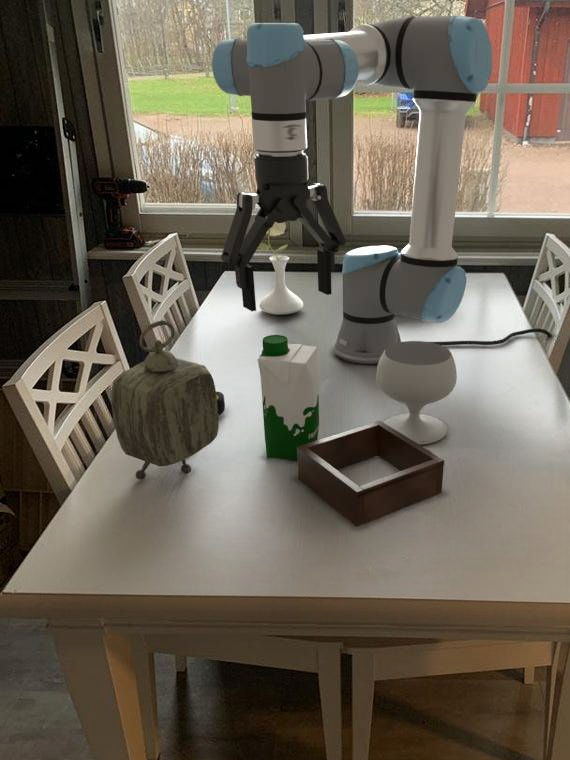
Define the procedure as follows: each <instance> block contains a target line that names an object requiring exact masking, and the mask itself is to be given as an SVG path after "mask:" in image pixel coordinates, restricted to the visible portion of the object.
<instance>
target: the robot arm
mask: <svg viewBox="0 0 570 760" xmlns="http://www.w3.org/2000/svg"><path fill="white" fill-rule="evenodd" d="M211 66H212V68H211V69H212V75H213V78H214V81H215V83H216V84H217V85H216V86H217V87H218V88H219V89H220V90H221V91H223V92H224V93H226V94H229V95H236V96H238V97H245V96H246V97H247V96H249V97H250V106H251V128H252V129H251V130H252V146H253V149H254V150H255V151H256V152H257V153H256V154H255V156H254V157H253V159H254V174H255V175H254V176H255V181H256V192H255V193H246V192H243V191H239V192H238V193H237V194H236V210H235V212H234V216H233V219H232V222H231V225H230V229H229V231H228V234H227V237H226V240H225V244H224V247H223V250H222V251H221V252H222V253H221V255H220V259H221V261H222V262H224V263H226V264H228V265H230V266H234V273H235V274H234V275H235V284H236V286H237V287H238V288H239V289H241V296H242V307H243V308H245V309H247V310H249V311H250V312H256V311H257V303H256V301H257V300H256V289H255V275H254V267H253V266H252V265H250V262H251V260H252V259H253V256H254V255H255V254H256V251H257V250H258V249H257V248H258V246H259V245H260V243H261V242H262V241H263V240H264V238H265V236H266V235H267V234H268V233H267V231H268V229H269V228H271V227H272V226H273V225H274V223H275V222H276V223H284V222H285V223H286V222H288V221H289V222H297V221H300V222H301V224H302V225H303V226H304V227H305V229H306V230H307V231H308V232H309V233H310V234H311V236H312V237H313V238H314V239H315V241H316V242H317V243H318V244H319V246H320V247H321V248H319V249H317V250H316V258H317V291H318V292H320V293H322V294H324V295H326V296H329V295H332V294H333V293H332V272H334V271H335V268H336V264H335V261H336V258H335V253H338V252H339V250H340V247H341V246H345V245H346V243H347V241H346V238H345V235H344V233H343V231H342V228H341V227H340V224H339V222H338V220H337V217H336V215H335V213H334V211H333V208H332V206H331V204H330V201H329V196H328V188H327V186H326V185H324V184H321V183H317V182H313V183H312V184H311V185H310V186H308V180H309V156H308V155H307V154H306V152H304V151H305V150H306V149H307V148H308V138H307V137H308V135H307V134H308V133H307V131H308V130H307V102H310V101H324V100H331V101H333V100H336V99H339V98H343V97H345V96H347V95H349V94H350V93H351V92H352V91H353V89H354V88H355V86H356V84H357V85H360V86H371V85H373V86H383V87H391V88H396V89H402V90H404V89H405V90H413V93H412V101H413V102H414V103H413V104H415V105H416V107H417V109H418V110H419V119H418V128H417V130H418V132H417V141H416V142H417V144H416V154H415V168H414V179H413V180H414V181H413V191H412V202H411V216H410V227H409V240H408V243H407V245H406V246H404V248H402V249H401V251H400V253H401V257H398V253H399V251H398V248H397V247H395V246H393V245H369V246H362V247H358V248H355V249H352V250H349V251H348V252H347V253H345V254H344V256H343V259H342V271H341V275H342V321H341V325H340V327H339V330H338V334H337V338H336V339H335V343H334V354H335V355H336V356H337V357H338V358H339V359H340V360H343V361H345V362H349V363H352V364H358V365H378V363H379V360H380V358H381V356H382V354H383V352H384V350H385V349H386V348H387V347H388V346H390V345H392V344H395V343H399V342H402V340H401V339H402V338H401V335H400V331H399V328H398V325H397V322H396V315H398V316H402V317H407V318H412V319H416V320H421V321H422V322H425V323H427V322H432V323H436V324H437V323H438V324H440V323H445V322H447V321H449V320H450V319H451V318H452V317H453V316H454V315H455V314H456V312H457V310H458V309H459V307H460V305H461V303H462V301H463V297H464V295H465V292H466V287H467V276H466V270H465V269H464V268H462V267H461V266H460V265H458V262H459V261H458V259H459V254H458V253H457V252H456V251H455V249H454V248H453V246H452V245H453V237H454V227H455V217H456V208H457V199H458V190H459V180H460V173H461V162H462V154H463V153H462V152H463V144H464V135H465V126H466V117H467V114H468V112H469V111H470V110H471V109H472V108H473V107H474V106H475V105H476V101H477V94H480V93H482V92H484V91H485V90H486V88H487V87H488V85H489V80H490V79H491V76H492V70H493V49H492V42H491V37H490V36H489V31H488V29H487V28H486V25H485V24H484V22H483V21H481V20H480V19H479V18H476V17H473V16H465V15H455V14H454V15H433V16H401V17H395V18H390V19H385V20H382V21H377V22H372V23H364V24H358V25H356V26H354V27H353V28H351V29H350V30H349V31H346V32H345V31H344V32H343V31H342V32H330V33H329V32H328V33H314V34H304V30H303V27H302V26H301V24H299V23H297V22H296V23H295V22H253V23H251V24H249V26H248V27H247V30H246V38H242V37H235V38H230V39H229V38H228V39H223V40H221V41H220V42H219V43H218V44H217V45H216V46H215V48H214V50H213V53H212V58H211ZM310 199H311V201H313V204H314V207H315V209H316V211H317V214H318V215H319V219H320V220H321V222H322V224H323V226H324V228H325V230H324V228H323V227H322V226H321V225H320V223H319V222H318V221H317V220H316V218H315V217H314V214H313V213H312V212H311V210H309V208H308V207H307V203H308V201H309V200H310ZM256 205H258V207H259V210H257V211H258V212H257V213H256V214H257V215H256V214H255V215H256V216H254V220H253V224H251V226H250V229H249V230H248V227H249V225H250V222H251V218H252V214H253V210H255V209H256ZM266 216H267V218H266ZM247 230H248V231H247ZM266 233H267V234H266ZM531 333H541V334H544V335H546V336H547V337H553V335H552V334H551V332H549V331H548V330H546V329H544V328H539V327H538V328H537V327H536V328H528V329H524V330H518V331H514V332H511V333H509V334H508V335H507V336H505V337H504V338H502V339H501V338H500V339H497V340H451V341H449V340H448V341H447V340H446V341H430V342H431V343H435V344H439V345H441V346H464V345H472V346H476V345H478V346H494V345H501V344H504V343H506V342H508V341H509V340H510V339H511V338H513V337H516V336H521V335H527V334H531Z"/></svg>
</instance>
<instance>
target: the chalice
mask: <svg viewBox="0 0 570 760" xmlns="http://www.w3.org/2000/svg"><path fill="white" fill-rule="evenodd" d="M431 342H432V341H423V340H407V341H401V342H399V343H395V344H392V345H390V346H388V347H387V348H386V349H385V350H384V352H383V354H382V356H381V358H380V360H379V363H378V364H377V368H376V383H377V385H378V388H379V389H380V390H381V392H382V393H384V395H386V396H387V397H388V398H389V399H392V400H394V401H397V402H399V403H401V404H403V405H405V406H406V408H407V409H408V412H409V413H400V414H396V415H391V416H390V417H388V418H386V419H384V420H383V421H382V422H383V423H385V424H387V425H388V426H390V427H392V428H393V429H395V430H396V431H398V432H400V433H401V434H403V435H405V436H406V437H408V438H409V439H411V440H413V441H414V442H416V443H417V444H419V445H427V444H433V443H435V442H438V441H440V440H442V439H443V438H444V437H446V436H447V433H448V428H447V426H446V424H444V423H443V422H442V421H441V420H440V419H439V418H437V417H435V416H431V415H427V414H422V413H421V410H422V409H423V408H424V407H425V406H426V405H430V404H434V403H437V402H439V401H441V400H443V399H445V398H447V396H449V395H450V393H452V392H453V391H454V388H455V386H456V385H457V379H458V375H457V366H456V362H455V358H454V356H453V353H452V352H451V350H450V349H448V348H447V347H446V346H445V345H439V344H435V343H431Z"/></svg>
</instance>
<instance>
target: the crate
mask: <svg viewBox="0 0 570 760" xmlns="http://www.w3.org/2000/svg"><path fill="white" fill-rule="evenodd" d="M377 457H378V458H380V459H382V460H383V461H385V462H386V463H387V464H389V465H390V466H392V467H393V468H395V469H396V470H398V471H397V472H395V473H392V474H388V475H385V476H383V477H381V478H377V479H374V480H373V481H369V482H367V483H364V484H362V485H358V484H356V483H355V482H354V481H352V480H351V479H350V478H348V477H347V476H346V475H344V473H342V472H340V471H339V470H341V469H345V468H348V467H351V466H354V465H356V464H359V463H362V462H365V461H368V460H371V459H374V458H377ZM297 459H298V461H297V478H298V481H300V482H301V483H302V484H303V485H305V486H306V487H307V488H309V490H311V491H312V492H313V493H315V494H316V495H317V496H318V497H319V498H320V499H322V500H323V501H324V502H325V503H327V504H328V505H329V506H330V507H331V508H333V510H335V511H336V512H338V513H339V514H340V515H341V516H342V517H344V518H345V519H346V520H347V521H349V522H350V523H351V524H352V525H354V526H355V527H356V528H357V527H360V526H363V525H365V524H368V523H370V522H372V521H375V520H377V519H381V518H383V517H385V516H387V515H390V514H393V513H395V512H398V511H400V510H403V509H405V508H408V507H410V506H412V505H415V504H418V503H420V502H423V501H425V500H428V499H430V498H433V497H436V496H438V495H440V494H442V493H443V482H444V471H445V470H444V469H445V468H444V467H445V459H444V458H442V457H440V456H439V455H437V454H435V453H434V452H432V451H430V450H429V449H428V448H425V447H424V446H422V444H417V443H416V442H414V441H413V440H411V439H409V438H408V437H406V436H405V435H403V434H401V433H400V432H398V431H396V430H395V429H393V428H392V427H390V426H388V425H387V424H385V423H383V421H382V420H378V421H375V422H371V423H368V424H365V425H362V426H358V427H355V428H353V429H349V430H347V431H346V430H345V431H343V432H340V433H336V434H333V435H330V436H327V437H324V438H320V439H317V441H314V442H311V443H307V444H304V445H301V446H298V447H297Z"/></svg>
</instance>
